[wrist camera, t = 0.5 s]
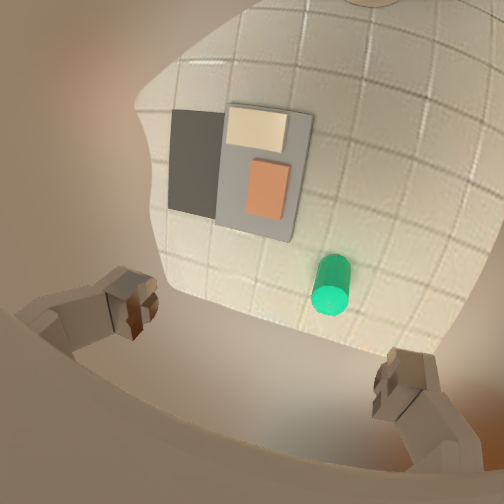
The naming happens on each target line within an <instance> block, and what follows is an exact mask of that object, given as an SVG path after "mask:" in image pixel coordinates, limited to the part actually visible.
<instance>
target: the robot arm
mask: <svg viewBox="0 0 504 504" xmlns="http://www.w3.org/2000/svg"><path fill="white" fill-rule="evenodd" d="M346 1H348V2H350V3H353V4H356V5H360V6H366V7H381V6H387V5H390V4H392V3H394V2H396V1H398V0H346ZM156 289H157V280H156V279H155V278H153V277H151V276H148V275H145V274H143V273H140V272H138V271H135V270H132V269H130V268H127V267H124V266H118V267H116V268H115V269H114V270H112V271H111V272H110V273H109V274H107V275H106V276H105V277H103V278H102V279H101V280H99V281H98V282H97V283H96V284H94V285H93V286H89V285H87V286H83V287H79V288H75V289H71V290H67V291H63V292H59V293H54V294H50V295H46V296H42V297H38V298H35V299H34V300H32V301H31V302H30V303H29V304H27V305H26V306H25V307H23V308H22V309H21V310H20V311H18V312H17V313H16V314H15V315H13V314H12V313H10V312H9V311H8V310H7V309H6V308H4V307H3V306H2V305H1V304H0V504H504V470H497V471H488V472H484V470H483V459H482V449H481V443H480V442H481V441H480V439H479V438H478V436H477V435H476V434H475V432H474V431H473V430H472V428H471V427H470V425H469V424H468V423H467V421H466V420H465V419H464V417H463V416H462V415H461V413H460V412H459V411H458V409H457V408H456V407H455V406H454V404H453V403H452V402H451V400H450V399H449V398H448V397H447V395H446V394H445V393H443V392H441V389H440V383H439V377H438V372H437V366H436V361H435V357H434V356H433V355H432V354H426V353H421V352H420V353H419V352H414V351H410V350H405V349H400V348H395V347H393V348H392V349H391V350H390V351H389V353H388V354H387V362H385V363H383V364H382V365H381V366H380V368H379V370H378V372H377V375H376V377H375V381H374V393H375V394H376V396H377V397H376V398H375V400H374V401H373V410H372V418H375V419H380V420H385V421H391V422H395V426H396V428H397V429H398V432H399V434H400V436H401V438H402V440H403V442H404V444H405V447H406V449H407V451H408V453H409V455H410V458H411V459H412V462H413V464H414V465H413V466H412V467H411V468H409V469H408V470H407V471H405V472H404V473H402V472H389V471H379V470H369V469H362V468H355V467H348V466H342V465H336V464H331V463H326V462H320V461H315V460H311V459H307V458H302V457H298V456H294V455H290V454H286V453H282V452H278V451H275V450H271V449H267V448H264V447H261V446H257V445H254V444H251V443H247V442H245V441H242V440H238V439H236V438H232V437H230V436H227V435H224V434H221V433H219V432H216V431H213V430H210V429H208V428H205V427H203V426H200V425H198V424H195V423H193V422H190V421H188V420H186V419H183V418H181V417H179V416H176V415H174V414H172V413H170V412H167V411H165V410H163V409H161V408H159V407H157V406H155V405H152V404H151V403H148V402H146V401H144V400H142V399H140V398H139V397H137V396H135V395H133V394H131V393H129V392H127V391H125V390H123V389H122V388H120V387H118V386H116V385H114V384H113V383H111V382H109V381H107V380H106V379H104V378H102V377H100V376H99V375H97V374H95V373H94V372H92V371H91V370H89V369H87V368H85V367H84V366H83V365H81V364H79V363H78V362H76V360H75V358H74V355H73V353H72V352H73V351H76V350H78V349H80V348H82V347H85V346H87V345H90V344H92V343H94V342H96V341H99V340H101V339H103V338H106V337H108V336H110V335H113V334H114V333H116V334H118V335H120V336H123V337H125V338H127V339H129V340H132V341H134V340H135V338H136V337H137V336H138V335H139V334H140V333H141V332H142V331H143V324H146V323H149V322H151V320H152V319H153V318H154V317H155V314H156V313H157V310H158V305H159V303H158V297H157V295H156V294H155V290H156Z"/></svg>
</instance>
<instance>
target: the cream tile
mask: <svg viewBox="0 0 504 504" xmlns="http://www.w3.org/2000/svg"><path fill="white" fill-rule="evenodd" d="M288 121H289V114H284V113H277V112H271V111H264V110H256V109H248V108H240V107H230V109H229V118H228V128H227V137H226V144H233V145H239V146H245V147H252V148H257V149H263V150H269V151H274V152H279V153H282V152H283V151H284V147H285V141H286V134H287V127H288Z"/></svg>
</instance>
